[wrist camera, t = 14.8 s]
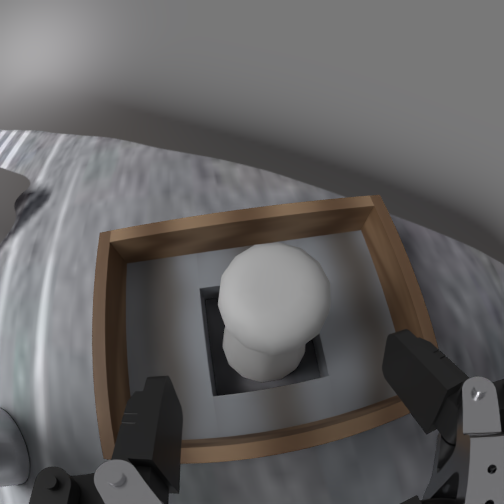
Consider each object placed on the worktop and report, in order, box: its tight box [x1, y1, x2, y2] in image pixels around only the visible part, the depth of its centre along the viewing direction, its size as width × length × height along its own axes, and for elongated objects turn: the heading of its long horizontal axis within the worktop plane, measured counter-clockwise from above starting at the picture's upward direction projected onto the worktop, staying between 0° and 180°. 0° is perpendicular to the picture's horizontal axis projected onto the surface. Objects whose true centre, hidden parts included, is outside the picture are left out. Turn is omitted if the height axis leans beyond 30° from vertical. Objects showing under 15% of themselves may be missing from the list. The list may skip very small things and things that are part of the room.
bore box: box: [92, 195, 438, 464], centre depth 19 cm, size 22×16×6 cm
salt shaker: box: [218, 242, 331, 383], centre depth 15 cm, size 6×6×13 cm
